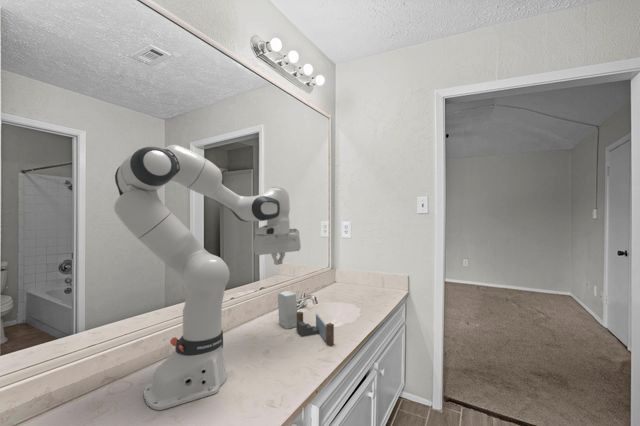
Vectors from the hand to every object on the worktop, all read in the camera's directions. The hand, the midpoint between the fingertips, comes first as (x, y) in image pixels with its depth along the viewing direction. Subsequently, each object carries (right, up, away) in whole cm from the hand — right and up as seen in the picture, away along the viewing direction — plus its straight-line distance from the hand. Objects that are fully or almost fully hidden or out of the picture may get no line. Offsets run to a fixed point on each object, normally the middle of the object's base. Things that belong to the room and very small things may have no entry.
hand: (278, 264), depth 117 cm
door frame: (+14, -31, +5) cm, 35 cm away
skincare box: (+2, -31, +19) cm, 37 cm away
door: (+18, -31, +7) cm, 36 cm away
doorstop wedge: (+11, -31, +10) cm, 35 cm away
